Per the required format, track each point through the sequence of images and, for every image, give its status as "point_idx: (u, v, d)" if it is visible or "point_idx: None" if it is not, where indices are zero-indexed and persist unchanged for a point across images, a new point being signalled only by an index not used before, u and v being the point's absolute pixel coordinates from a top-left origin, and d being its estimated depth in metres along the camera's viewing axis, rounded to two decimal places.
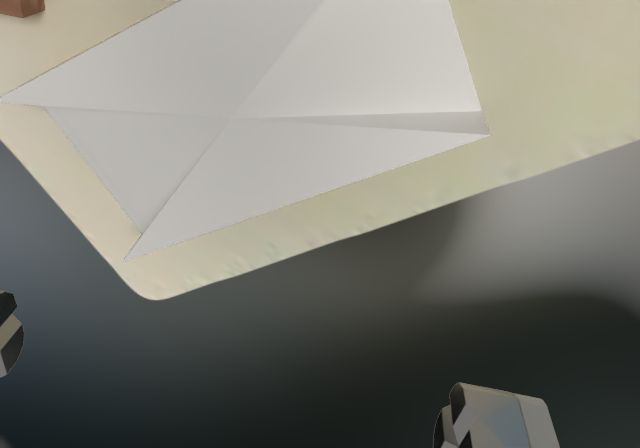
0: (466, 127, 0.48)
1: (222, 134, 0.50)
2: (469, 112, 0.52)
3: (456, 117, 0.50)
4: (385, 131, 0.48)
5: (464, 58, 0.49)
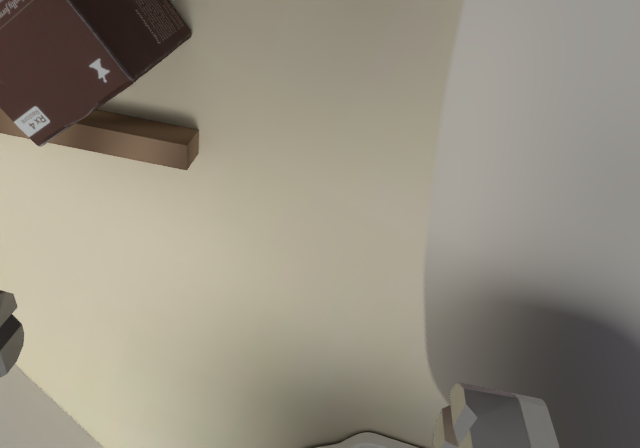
0: None
1: None
2: None
3: None
4: None
5: None
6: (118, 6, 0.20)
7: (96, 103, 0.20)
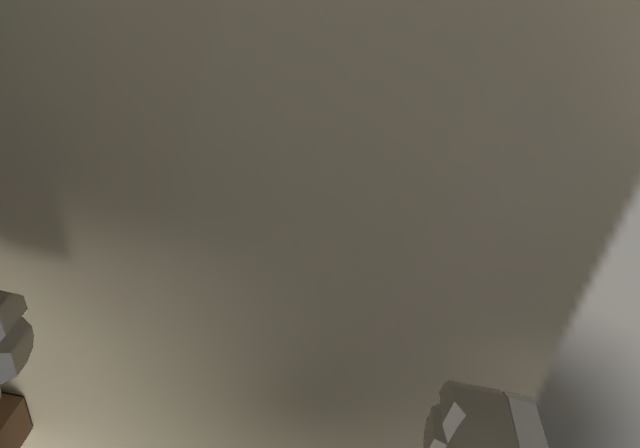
0: None
1: None
2: None
3: None
4: None
5: None
6: None
7: None
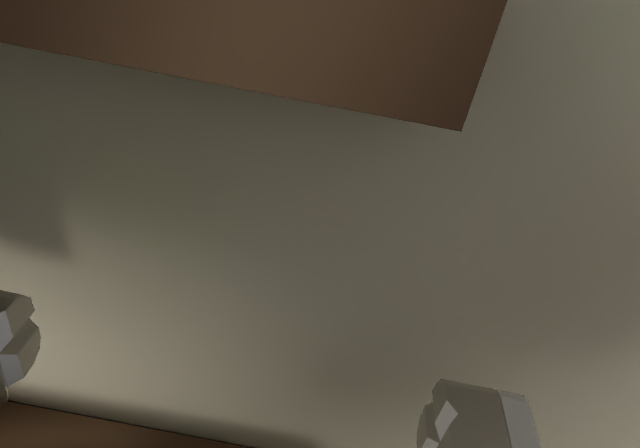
0: None
1: None
2: None
3: None
4: None
5: None
6: None
7: None
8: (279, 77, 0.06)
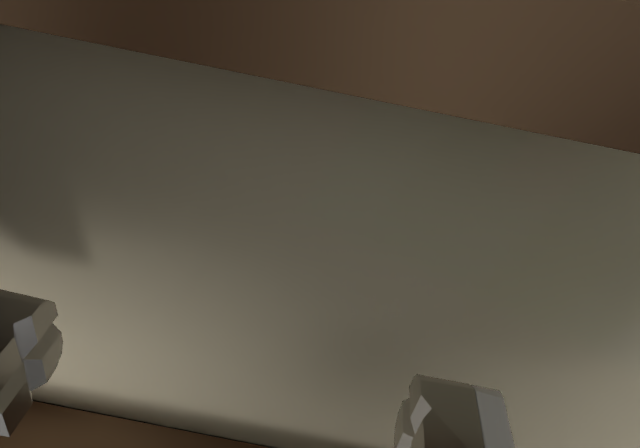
0: None
1: None
2: None
3: None
4: None
5: None
6: None
7: None
8: None
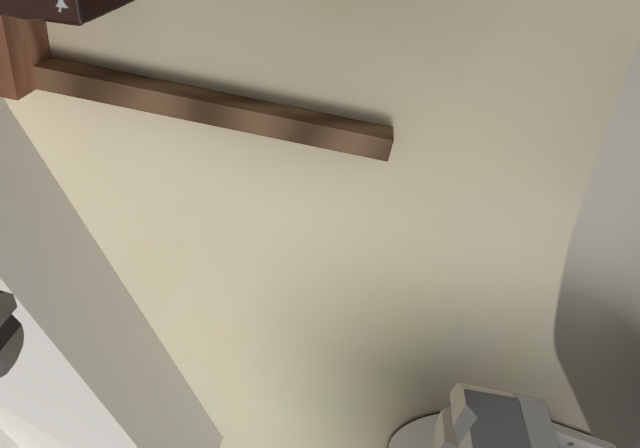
0: None
1: None
2: None
3: None
4: None
5: None
6: None
7: (42, 18, 0.24)
8: None
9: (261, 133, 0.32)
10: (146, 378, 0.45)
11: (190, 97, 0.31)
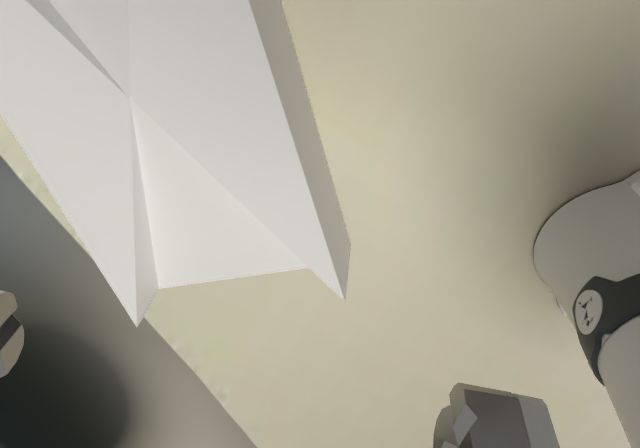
0: (142, 303, 0.51)
1: (105, 81, 0.37)
2: (156, 283, 0.55)
3: (151, 283, 0.53)
4: (131, 253, 0.46)
5: (205, 281, 0.55)
6: None
7: None
8: None
9: None
10: (307, 132, 0.42)
11: None
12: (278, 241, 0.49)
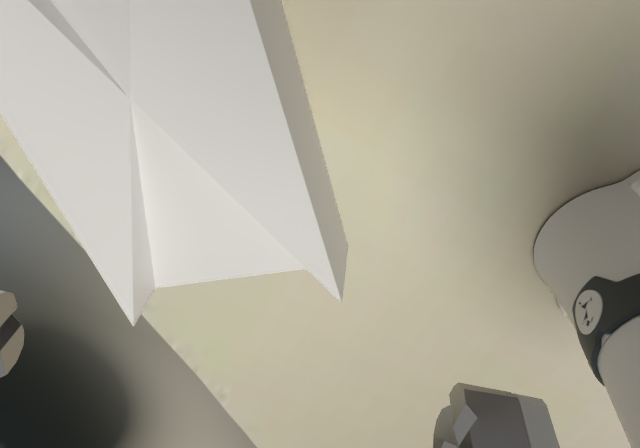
0: (138, 302, 0.51)
1: (106, 80, 0.37)
2: (153, 282, 0.55)
3: (148, 282, 0.53)
4: (128, 253, 0.46)
5: (202, 281, 0.55)
6: None
7: None
8: None
9: None
10: (306, 133, 0.43)
11: None
12: (276, 242, 0.49)
